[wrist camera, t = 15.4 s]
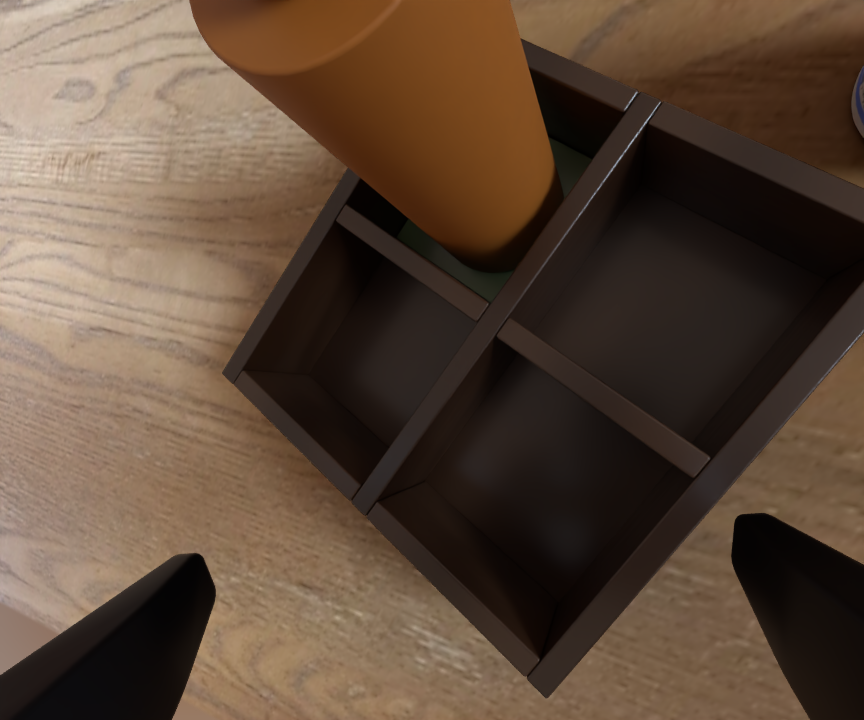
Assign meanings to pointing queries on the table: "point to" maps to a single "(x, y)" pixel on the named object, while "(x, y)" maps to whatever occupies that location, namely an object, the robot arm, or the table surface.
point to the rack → (564, 360)
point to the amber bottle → (409, 107)
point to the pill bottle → (858, 102)
